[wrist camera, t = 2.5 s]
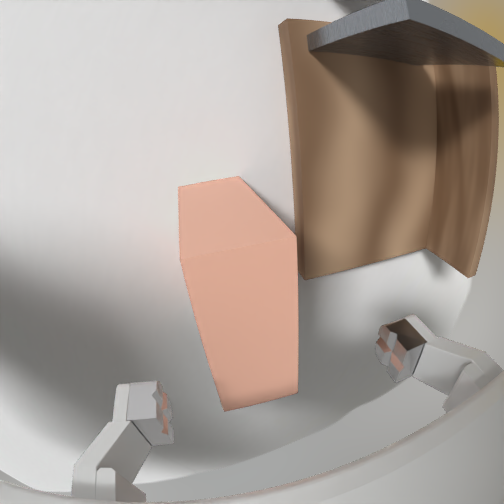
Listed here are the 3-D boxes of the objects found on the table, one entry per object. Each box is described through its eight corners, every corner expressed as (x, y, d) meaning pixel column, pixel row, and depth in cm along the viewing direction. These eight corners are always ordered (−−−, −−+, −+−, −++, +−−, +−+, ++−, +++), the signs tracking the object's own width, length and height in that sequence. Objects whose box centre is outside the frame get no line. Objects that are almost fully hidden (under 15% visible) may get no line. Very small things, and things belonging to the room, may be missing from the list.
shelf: (296, 269, 20) (339, 328, 15) (277, 25, 13) (330, -13, 7) (422, 238, 22) (475, 274, 17) (426, 48, 15) (493, 46, 9)
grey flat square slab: (308, 51, 13) (409, 19, 6) (306, 35, 12) (404, -6, 5) (415, 65, 14) (515, 68, 7) (414, 52, 14) (513, 50, 7)
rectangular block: (202, 303, 20) (223, 413, 12) (177, 186, 16) (178, 259, 8) (253, 292, 20) (298, 394, 13) (239, 176, 17) (297, 236, 9)
